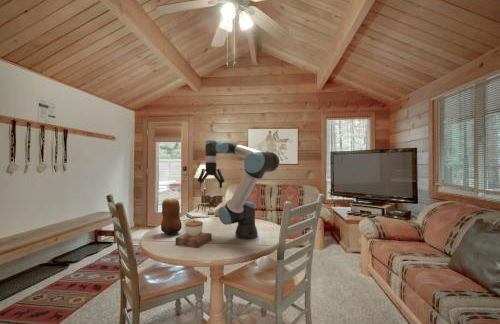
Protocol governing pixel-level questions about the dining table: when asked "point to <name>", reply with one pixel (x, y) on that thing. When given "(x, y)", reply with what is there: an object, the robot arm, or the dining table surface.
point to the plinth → (194, 239)
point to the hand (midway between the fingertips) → (211, 192)
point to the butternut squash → (171, 216)
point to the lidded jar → (194, 228)
